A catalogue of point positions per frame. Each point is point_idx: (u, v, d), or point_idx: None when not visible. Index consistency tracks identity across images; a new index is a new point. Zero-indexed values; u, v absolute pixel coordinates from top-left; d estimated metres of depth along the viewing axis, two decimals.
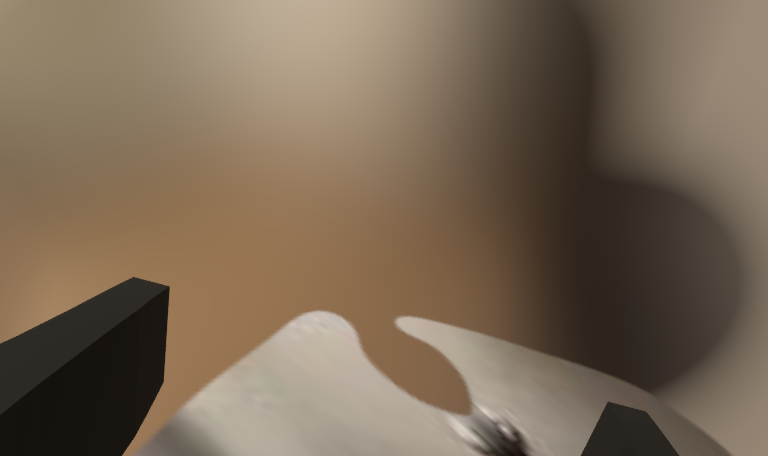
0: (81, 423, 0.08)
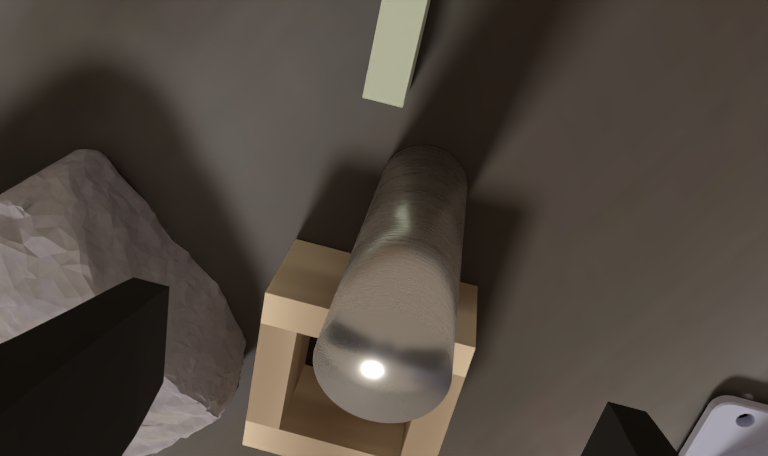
0: (81, 423, 0.08)
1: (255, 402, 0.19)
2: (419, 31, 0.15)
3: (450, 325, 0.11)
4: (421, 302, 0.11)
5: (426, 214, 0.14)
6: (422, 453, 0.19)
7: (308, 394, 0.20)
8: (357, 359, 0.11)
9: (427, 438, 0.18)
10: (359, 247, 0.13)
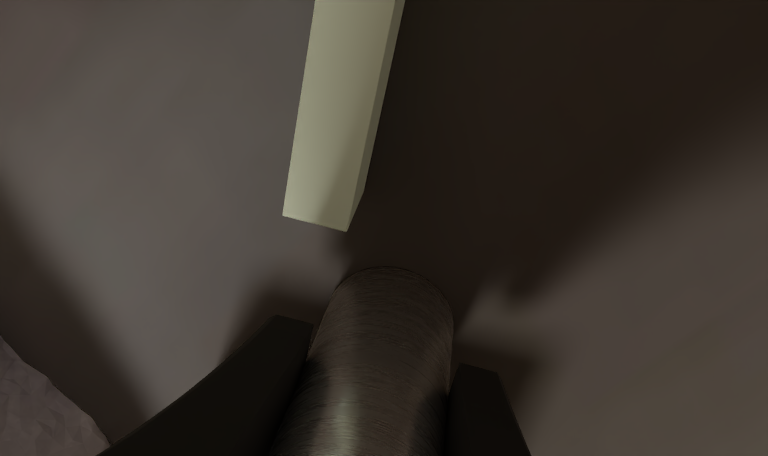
0: None
1: None
2: (369, 117, 0.09)
3: None
4: None
5: (377, 445, 0.08)
6: None
7: None
8: None
9: None
10: None
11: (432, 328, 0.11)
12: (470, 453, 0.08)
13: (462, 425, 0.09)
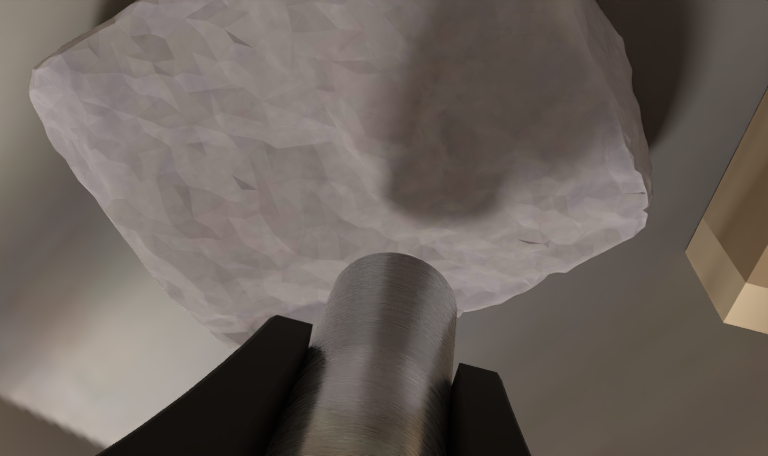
0: None
1: None
2: None
3: None
4: None
5: (392, 428, 0.08)
6: None
7: None
8: None
9: None
10: None
11: (441, 318, 0.11)
12: (470, 453, 0.08)
13: (462, 425, 0.09)
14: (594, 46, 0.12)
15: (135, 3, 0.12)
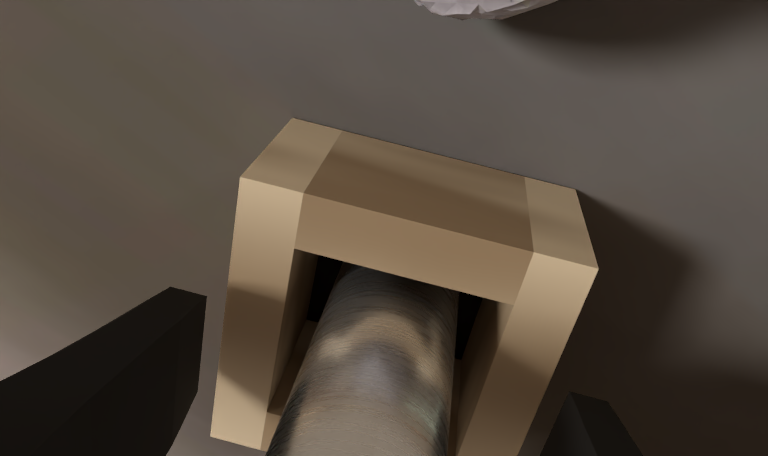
0: (126, 434, 0.08)
1: (351, 217, 0.10)
2: None
3: None
4: None
5: (408, 343, 0.09)
6: None
7: None
8: None
9: None
10: (303, 394, 0.09)
11: None
12: None
13: None
14: None
15: None
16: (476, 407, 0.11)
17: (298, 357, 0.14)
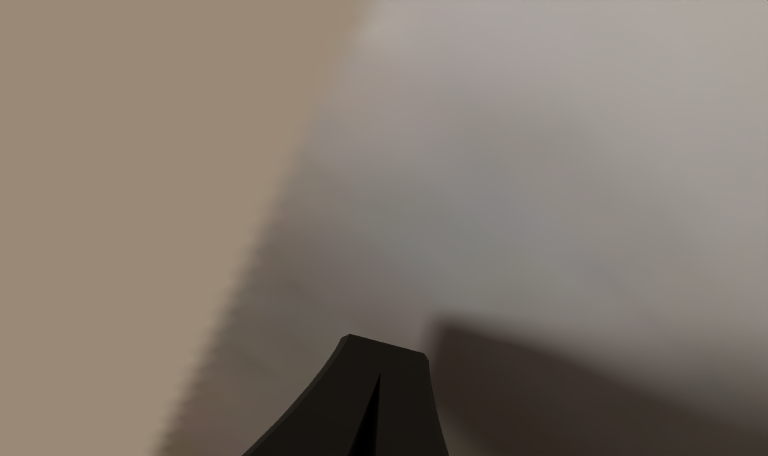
0: None
1: None
2: None
3: None
4: None
5: None
6: None
7: None
8: None
9: None
10: None
11: None
12: (377, 428, 0.08)
13: (377, 402, 0.09)
14: None
15: None
16: None
17: None
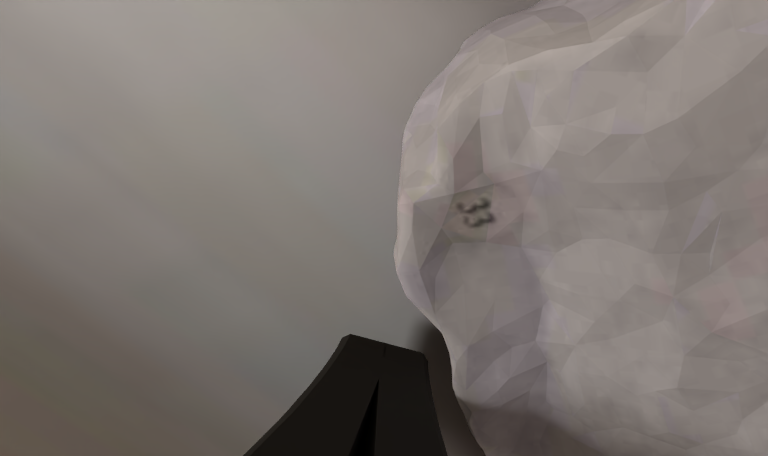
0: None
1: None
2: None
3: None
4: None
5: None
6: None
7: None
8: None
9: None
10: None
11: None
12: (375, 428, 0.08)
13: (376, 402, 0.09)
14: None
15: None
16: None
17: None
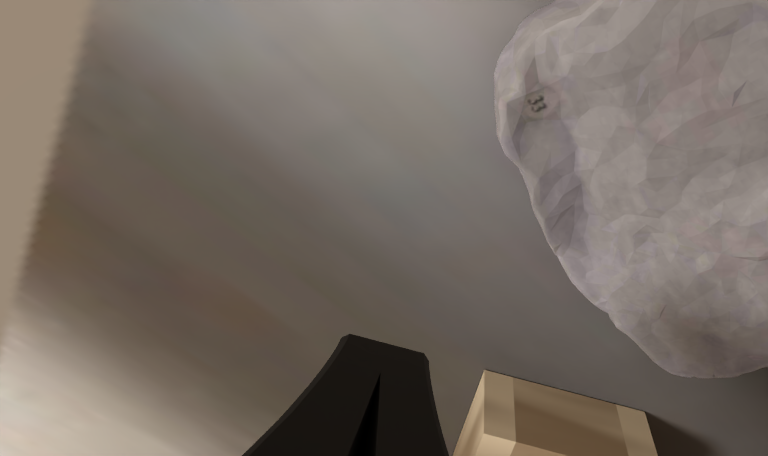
0: None
1: (539, 453, 0.20)
2: None
3: None
4: None
5: None
6: None
7: None
8: None
9: None
10: None
11: None
12: (377, 428, 0.08)
13: (378, 402, 0.09)
14: None
15: None
16: None
17: None
